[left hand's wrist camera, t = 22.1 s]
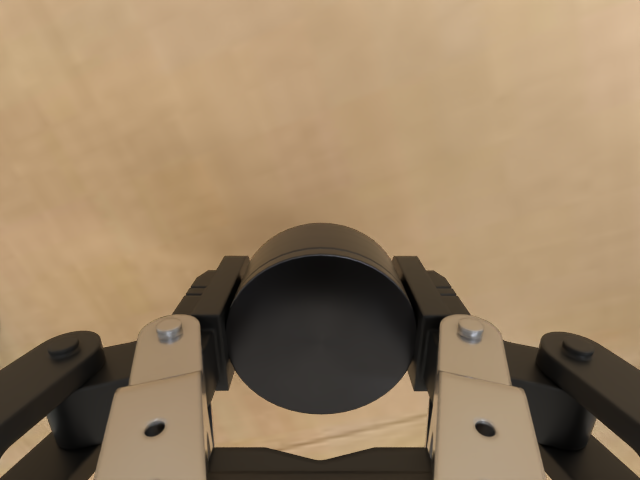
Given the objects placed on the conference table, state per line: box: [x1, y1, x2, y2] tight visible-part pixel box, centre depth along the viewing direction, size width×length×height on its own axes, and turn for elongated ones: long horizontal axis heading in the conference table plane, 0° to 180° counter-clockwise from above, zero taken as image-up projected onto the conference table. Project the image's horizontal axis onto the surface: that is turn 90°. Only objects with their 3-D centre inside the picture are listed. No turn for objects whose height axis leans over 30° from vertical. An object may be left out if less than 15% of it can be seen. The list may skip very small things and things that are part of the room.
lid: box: [225, 223, 417, 414], centre depth 10 cm, size 5×5×2 cm
